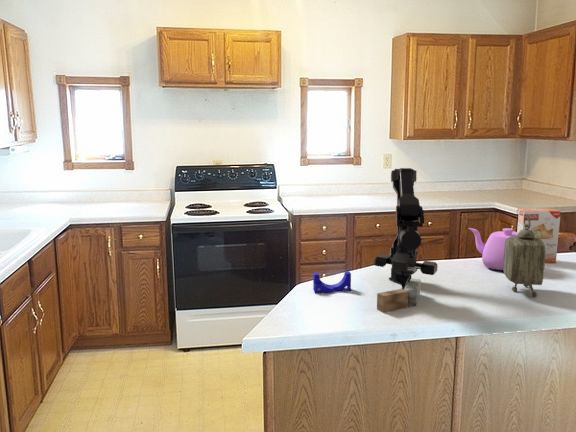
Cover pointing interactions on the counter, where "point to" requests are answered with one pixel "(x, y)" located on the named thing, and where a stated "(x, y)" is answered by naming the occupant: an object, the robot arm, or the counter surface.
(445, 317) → the counter surface
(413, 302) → the hinge base
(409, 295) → the hinge leaf
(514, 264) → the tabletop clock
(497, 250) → the teapot
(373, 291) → the counter surface
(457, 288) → the counter surface
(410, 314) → the counter surface
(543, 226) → the cracker box
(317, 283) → the cable clip
